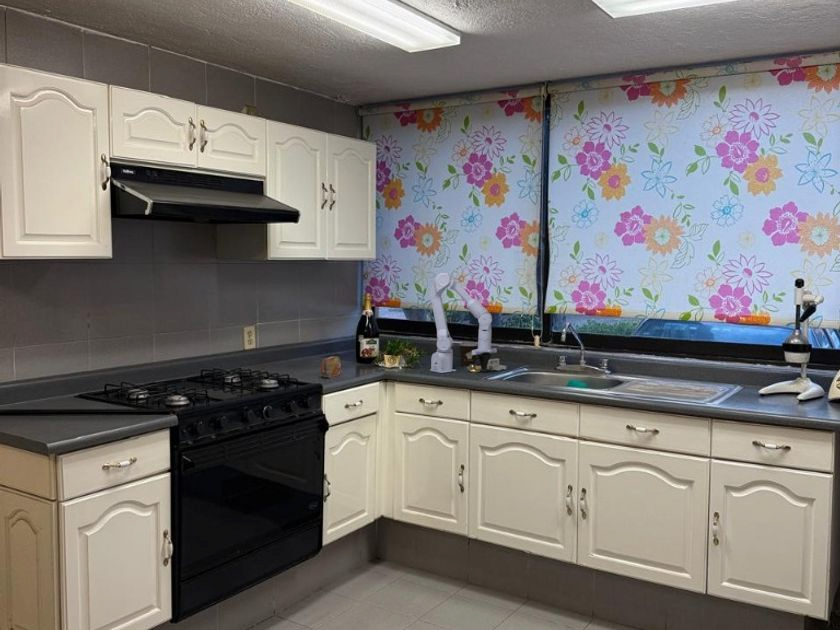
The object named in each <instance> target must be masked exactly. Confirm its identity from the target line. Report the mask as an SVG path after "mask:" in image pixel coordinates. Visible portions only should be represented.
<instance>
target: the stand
mask: <svg viewBox="0 0 840 630" xmlns="http://www.w3.org/2000/svg"><path fill="white" fill-rule="evenodd" d="M487 366H492V367H493V369H492V370H491V371H493V370H497V371H501V369H504V370H507V365H502V364H500V358H490V359H489V361H488V364H487Z"/></svg>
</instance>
